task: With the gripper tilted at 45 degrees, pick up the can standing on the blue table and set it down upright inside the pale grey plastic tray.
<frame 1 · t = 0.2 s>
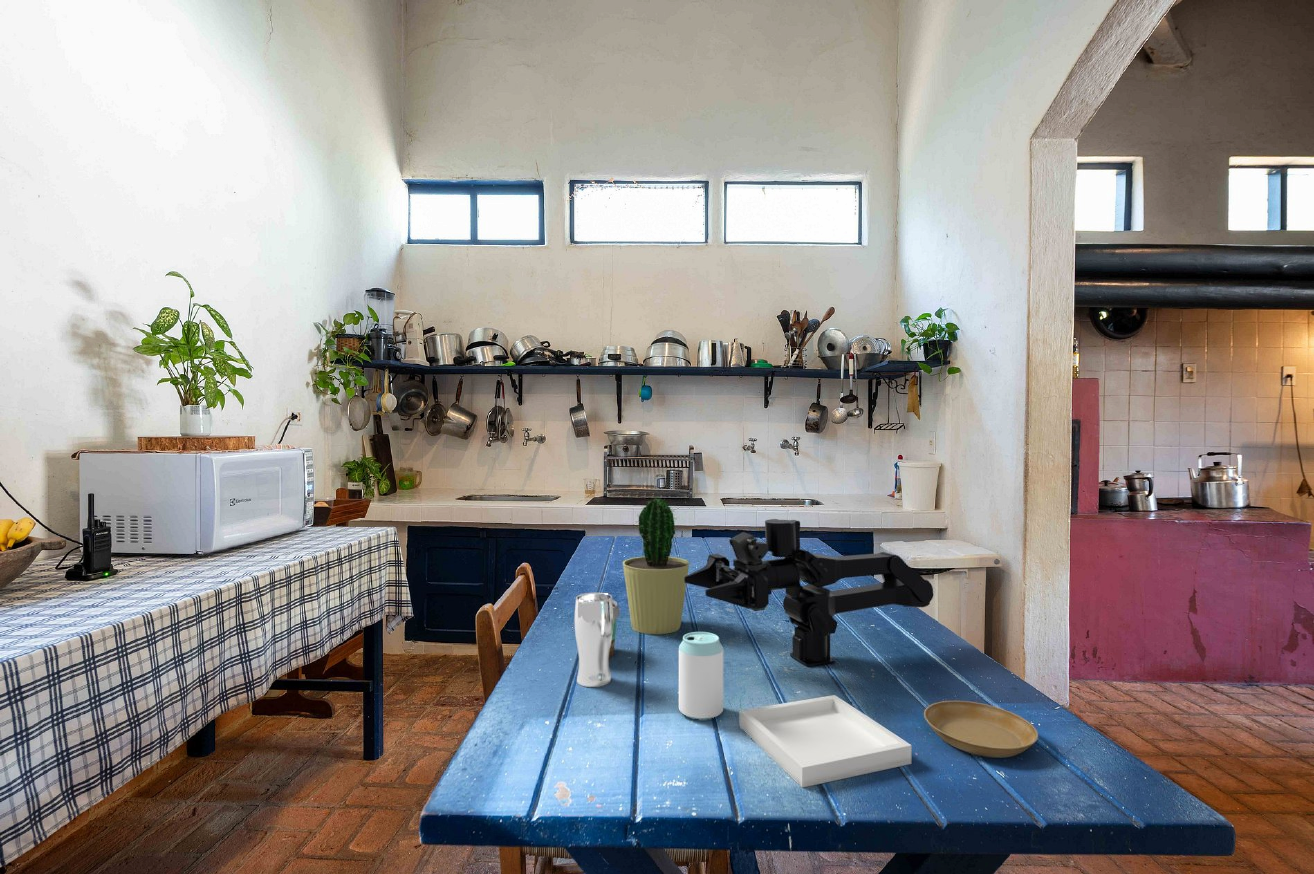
hand: (694, 586, 112), 17 cm above the table, tool horizontal, fingers open, 9 cm apart
potted cactus: (655, 627, 142), on the table
beer glass: (593, 681, 111), on the table
food container: (603, 655, 124), on the table
plant saucer: (978, 741, 90), on the table
tray: (820, 744, 88), on the table
can: (700, 713, 98), on the table
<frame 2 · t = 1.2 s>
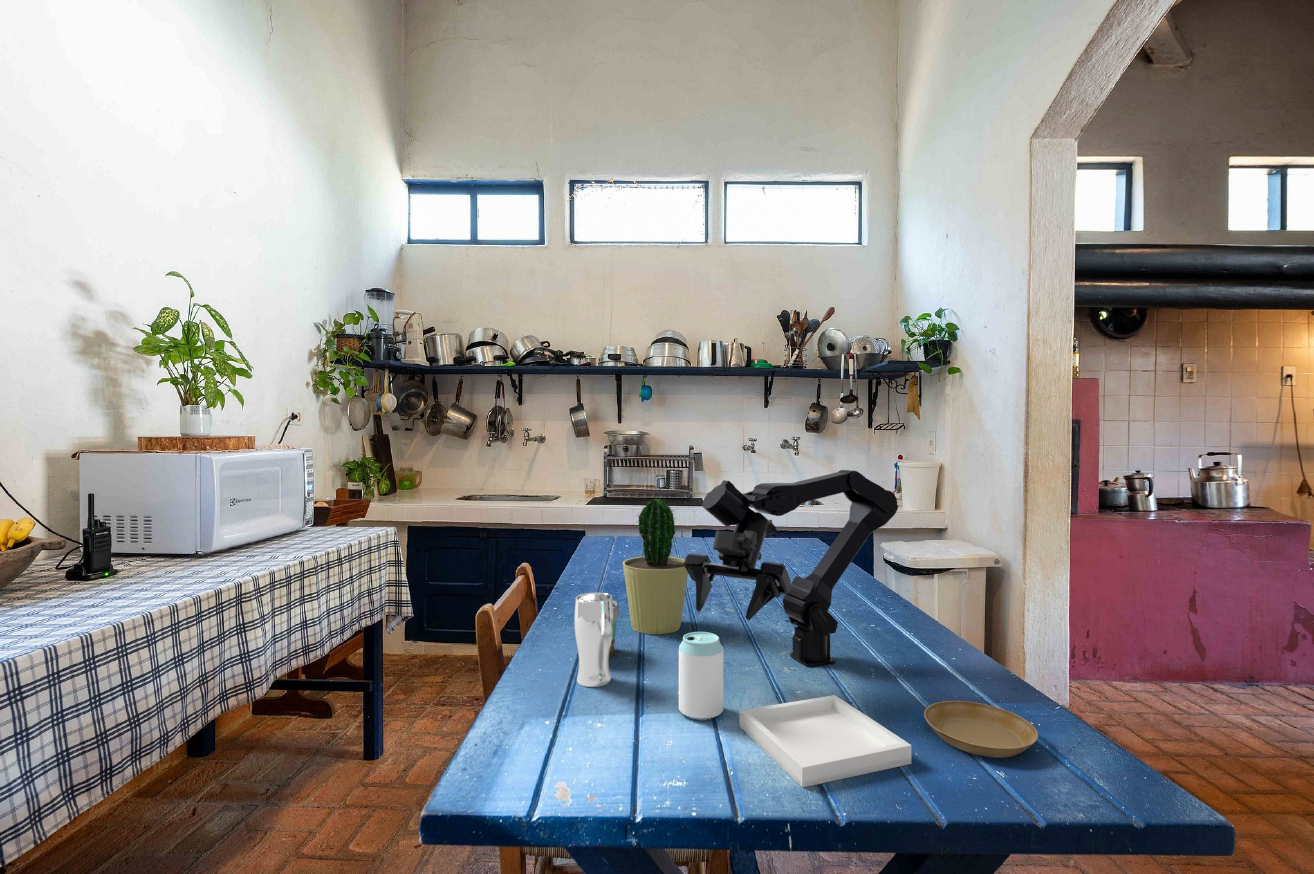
hand: (721, 614, 105), 14 cm above the table, tool tilted 45°, fingers open, 9 cm apart
nothing on the table moved.
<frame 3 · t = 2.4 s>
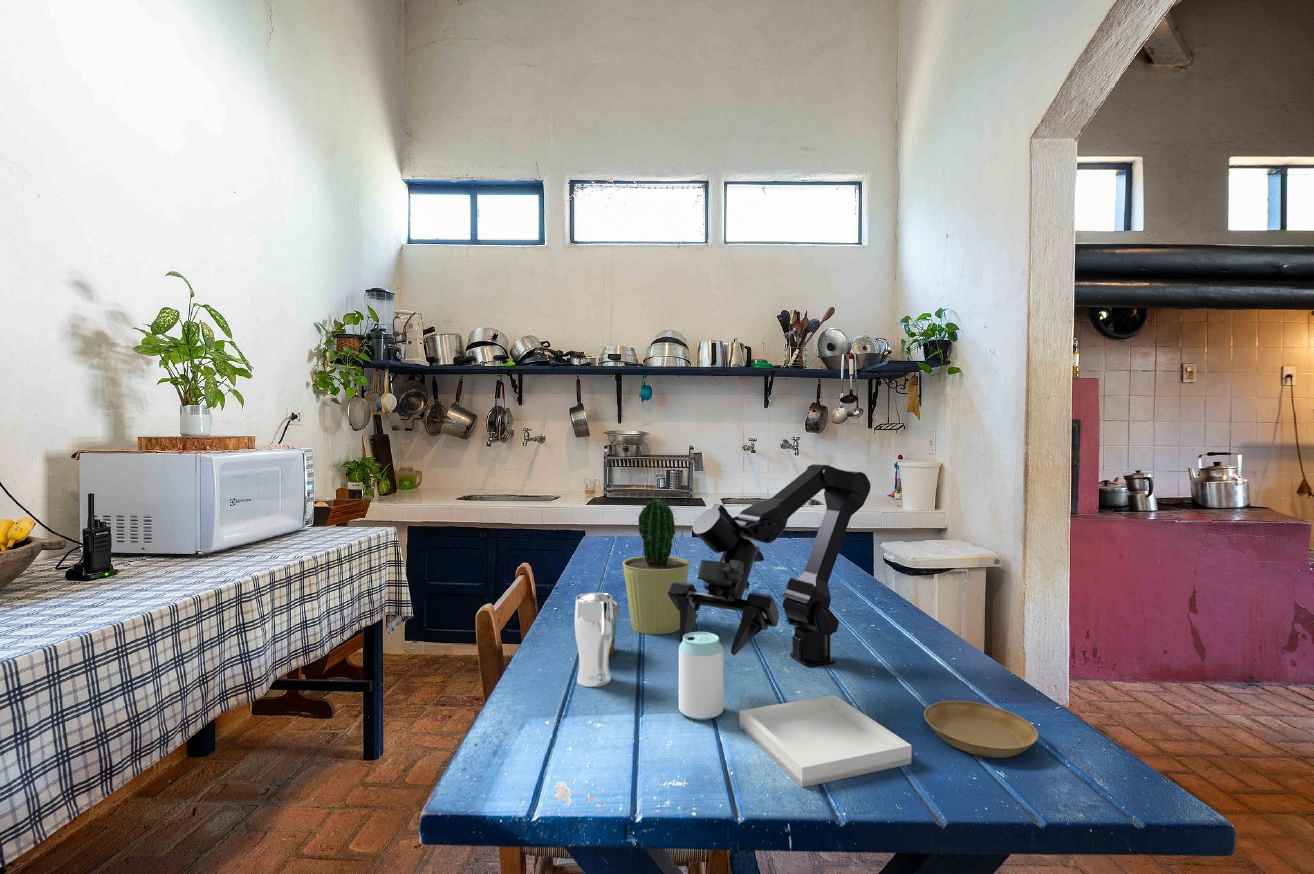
hand: (706, 648, 100), 9 cm above the table, tool tilted 45°, fingers open, 9 cm apart
nothing on the table moved.
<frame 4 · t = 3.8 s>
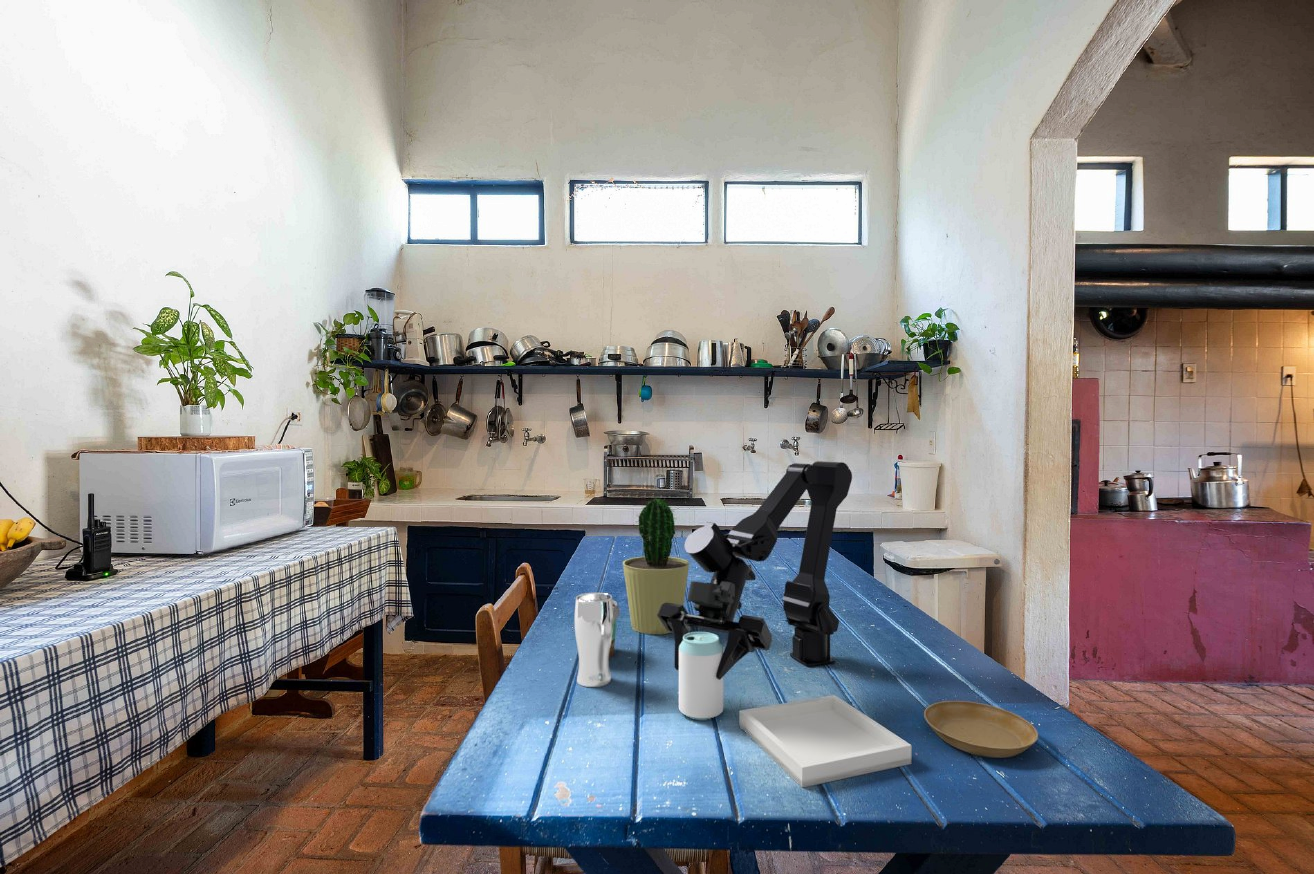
hand: (696, 673, 97), 7 cm above the table, tool tilted 45°, fingers closed on can, 7 cm apart
can: (700, 713, 98), on the table, touching gripper
everything else where it was.
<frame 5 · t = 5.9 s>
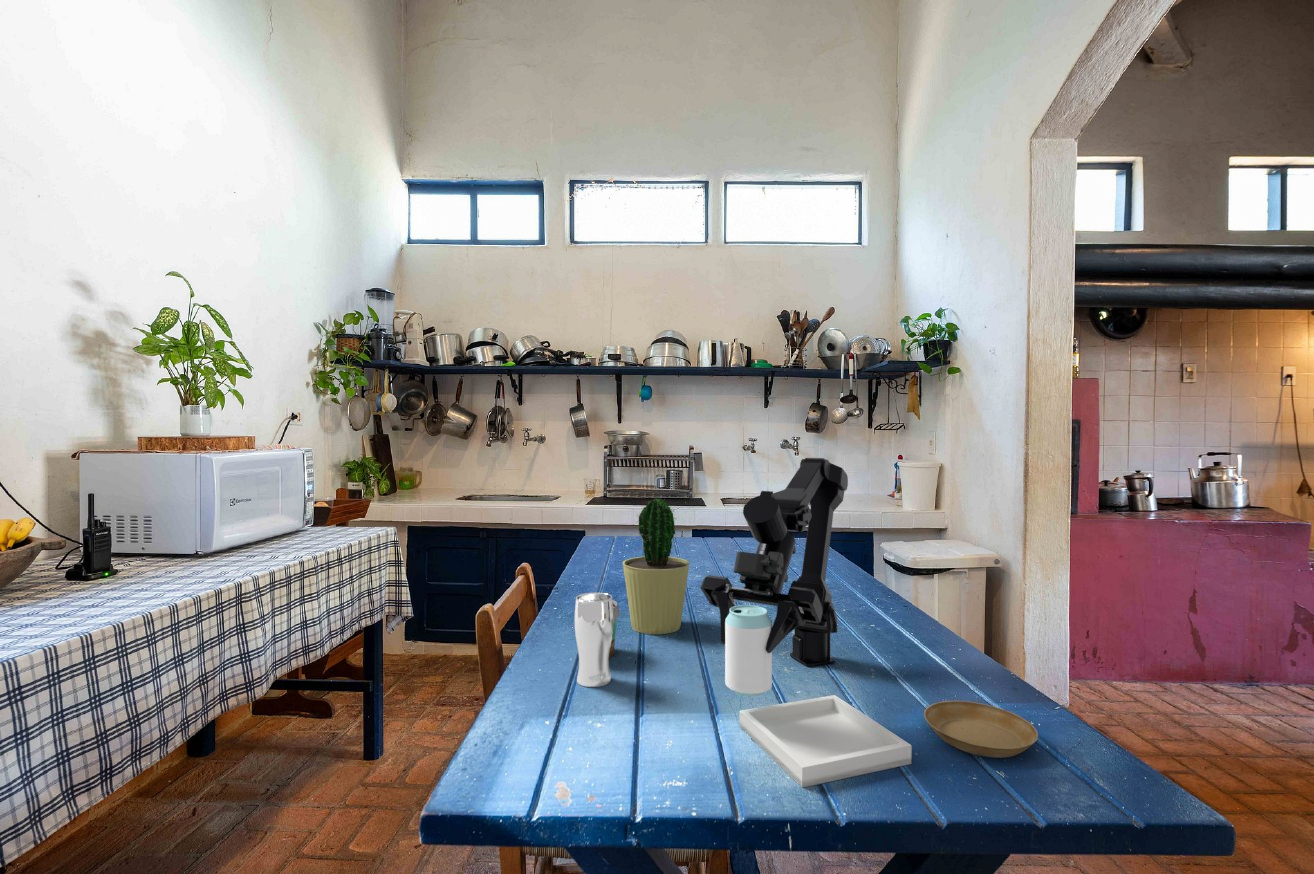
hand: (744, 647, 93), 12 cm above the table, tool tilted 45°, fingers closed on can, 7 cm apart
can: (748, 689, 94), point 5 cm above the table, touching gripper
everything else where it was.
when the fingers open (9 cm above the table, at t = 8.1 s): can drops 1 cm, resting on tray.
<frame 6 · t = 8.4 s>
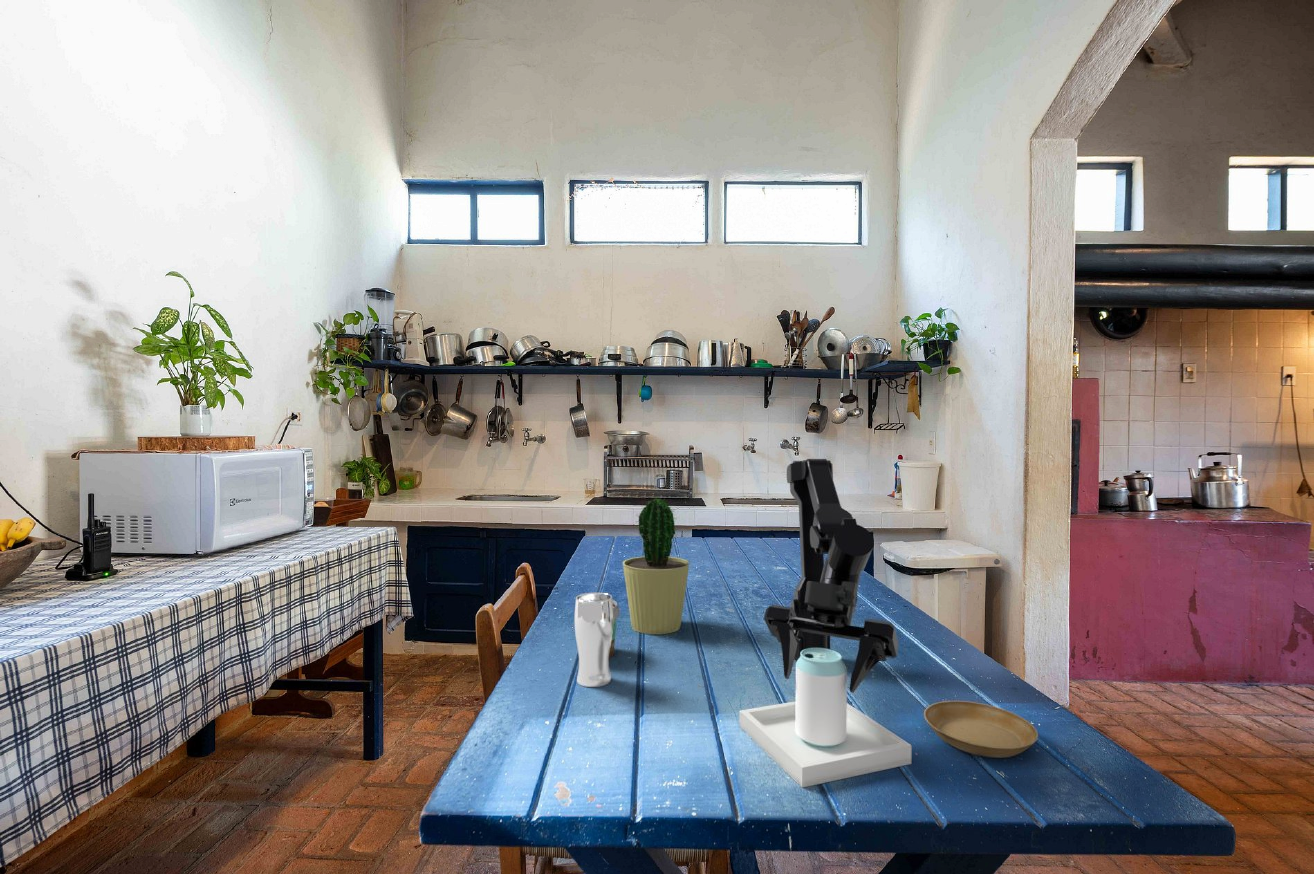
hand: (817, 684, 87), 9 cm above the table, tool tilted 45°, fingers open, 9 cm apart
can: (820, 739, 88), point 1 cm above the table, touching tray
everything else where it was.
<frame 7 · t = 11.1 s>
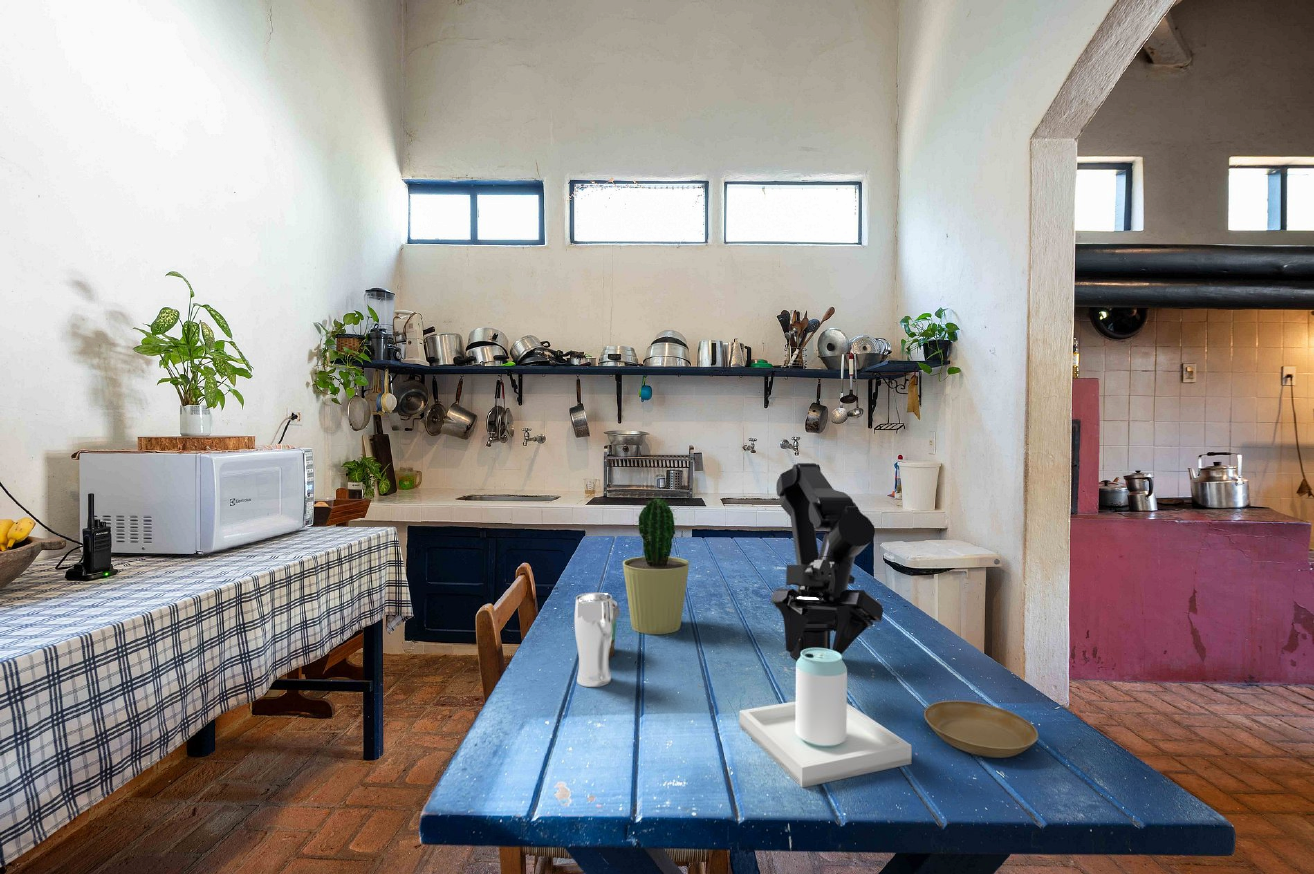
hand: (810, 654, 97), 10 cm above the table, tool tilted 35°, fingers open, 9 cm apart
nothing on the table moved.
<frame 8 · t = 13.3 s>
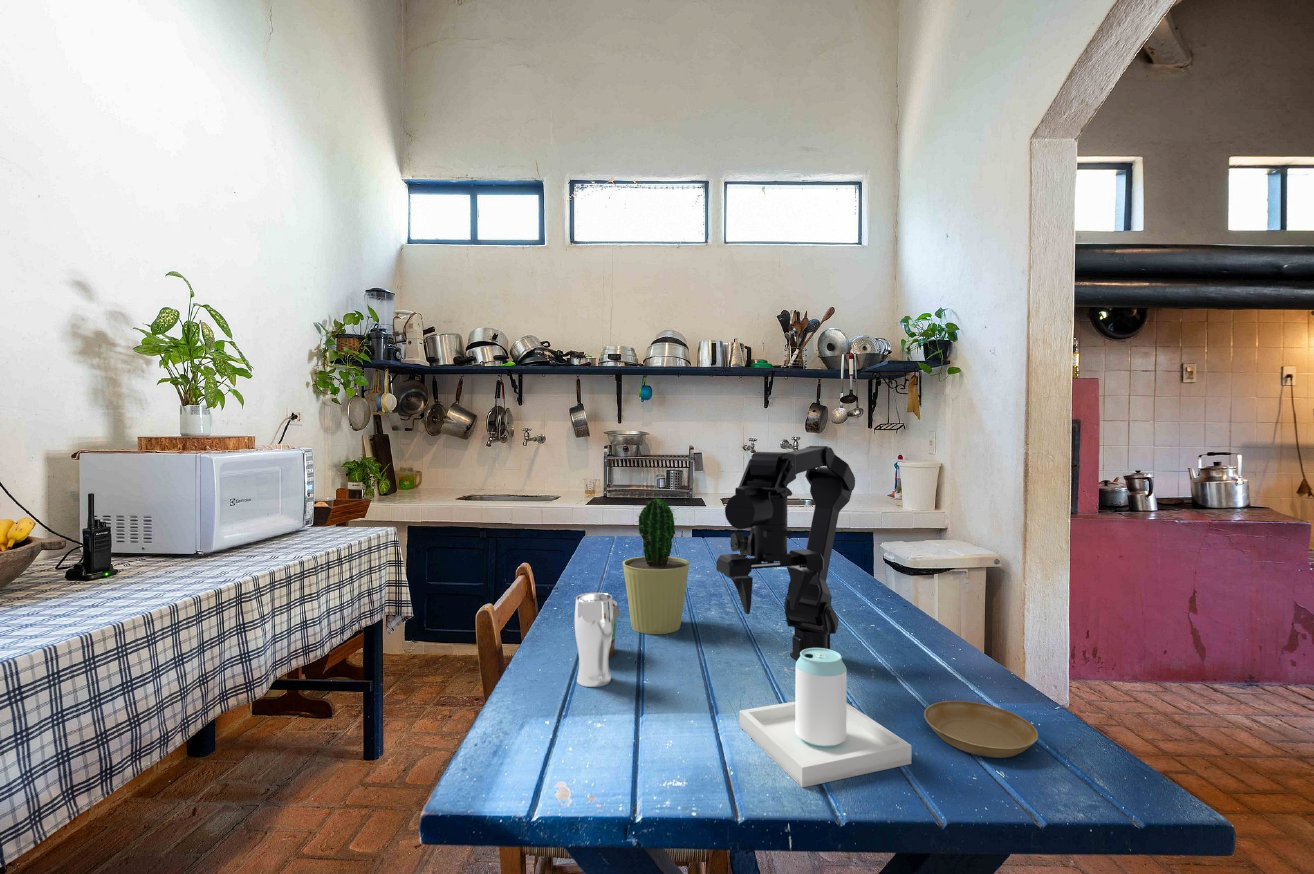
hand: (770, 611, 109), 13 cm above the table, tool pointing down, fingers open, 9 cm apart
nothing on the table moved.
at the end: can inside the target area on the tray (0.2 cm from its centre), point 0.6 cm above the tray's base; can tilted 0°; the gripper is holding nothing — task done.
